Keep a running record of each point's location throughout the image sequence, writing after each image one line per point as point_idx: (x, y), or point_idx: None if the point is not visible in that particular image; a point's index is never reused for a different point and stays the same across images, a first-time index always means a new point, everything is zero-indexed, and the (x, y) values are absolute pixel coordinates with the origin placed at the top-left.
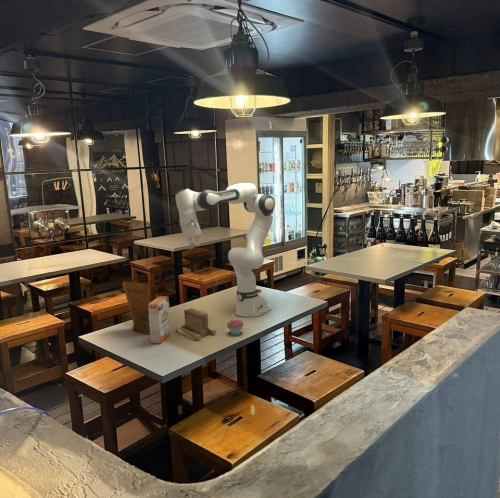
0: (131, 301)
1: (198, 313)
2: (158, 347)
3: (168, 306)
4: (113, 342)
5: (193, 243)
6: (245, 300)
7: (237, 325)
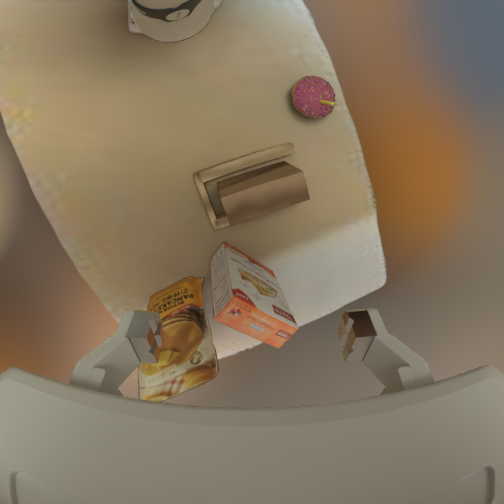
0: None
1: (285, 195)
2: (286, 277)
3: (236, 281)
4: (215, 340)
5: (148, 322)
6: (197, 5)
7: (334, 100)
